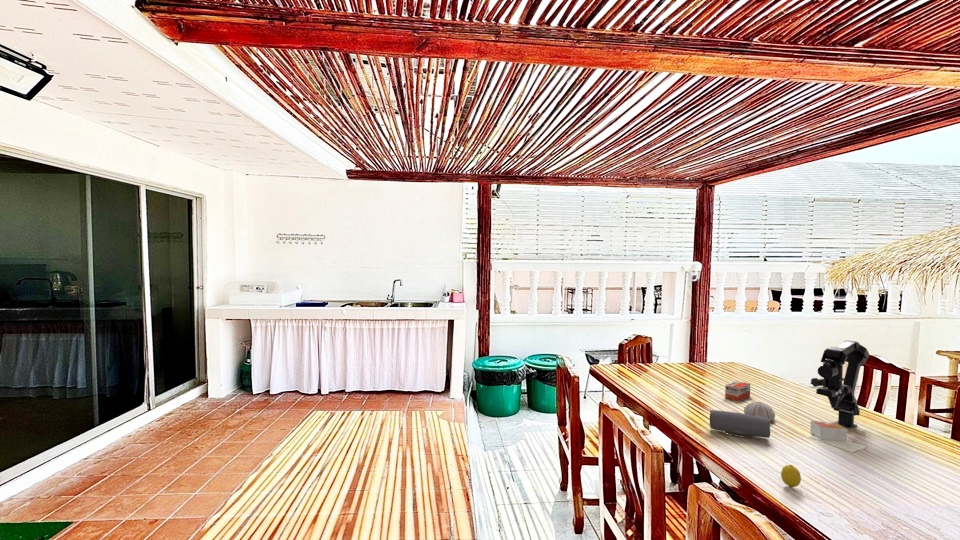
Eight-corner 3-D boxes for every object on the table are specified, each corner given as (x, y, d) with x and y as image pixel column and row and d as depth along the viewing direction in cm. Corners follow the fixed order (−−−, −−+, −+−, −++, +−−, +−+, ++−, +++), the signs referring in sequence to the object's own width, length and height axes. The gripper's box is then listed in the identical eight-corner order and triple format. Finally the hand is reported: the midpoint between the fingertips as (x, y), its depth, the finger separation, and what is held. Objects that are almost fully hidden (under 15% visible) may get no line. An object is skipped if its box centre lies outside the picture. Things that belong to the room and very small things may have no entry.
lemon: (776, 483, 149) (777, 461, 149) (791, 483, 149) (792, 460, 149) (789, 492, 143) (790, 469, 143) (804, 491, 144) (805, 468, 144)
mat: (823, 433, 193) (823, 432, 193) (866, 448, 178) (866, 447, 178) (809, 437, 189) (809, 436, 189) (852, 452, 174) (852, 451, 174)
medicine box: (735, 393, 252) (735, 380, 251) (750, 396, 245) (750, 383, 245) (724, 398, 242) (724, 384, 242) (739, 402, 236) (740, 387, 236)
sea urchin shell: (771, 425, 202) (771, 409, 202) (739, 417, 212) (739, 401, 212) (778, 418, 211) (779, 403, 211) (748, 411, 221) (748, 396, 221)
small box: (848, 429, 183) (820, 427, 186) (847, 441, 184) (820, 439, 186) (836, 422, 191) (810, 420, 193) (835, 434, 191) (809, 432, 194)
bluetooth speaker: (766, 435, 190) (766, 414, 190) (770, 443, 181) (771, 421, 181) (709, 426, 200) (709, 406, 199) (710, 434, 191) (711, 412, 191)
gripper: (824, 368, 207) (823, 400, 207) (803, 373, 199) (803, 405, 199) (852, 374, 197) (851, 407, 197) (831, 379, 189) (830, 413, 189)
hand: (833, 408), depth 196 cm, fingers closed
